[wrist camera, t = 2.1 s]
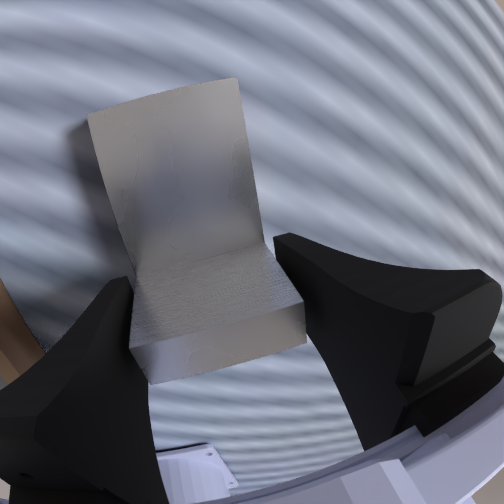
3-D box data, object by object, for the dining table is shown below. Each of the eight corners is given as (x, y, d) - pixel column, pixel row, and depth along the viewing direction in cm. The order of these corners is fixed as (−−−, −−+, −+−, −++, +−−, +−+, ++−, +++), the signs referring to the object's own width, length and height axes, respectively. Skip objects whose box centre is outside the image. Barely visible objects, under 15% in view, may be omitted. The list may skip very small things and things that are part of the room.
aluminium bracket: (259, 259, 13) (306, 342, 8) (151, 288, 12) (150, 385, 8) (228, 81, 9) (274, 61, 5) (97, 113, 9) (40, 123, 4)
